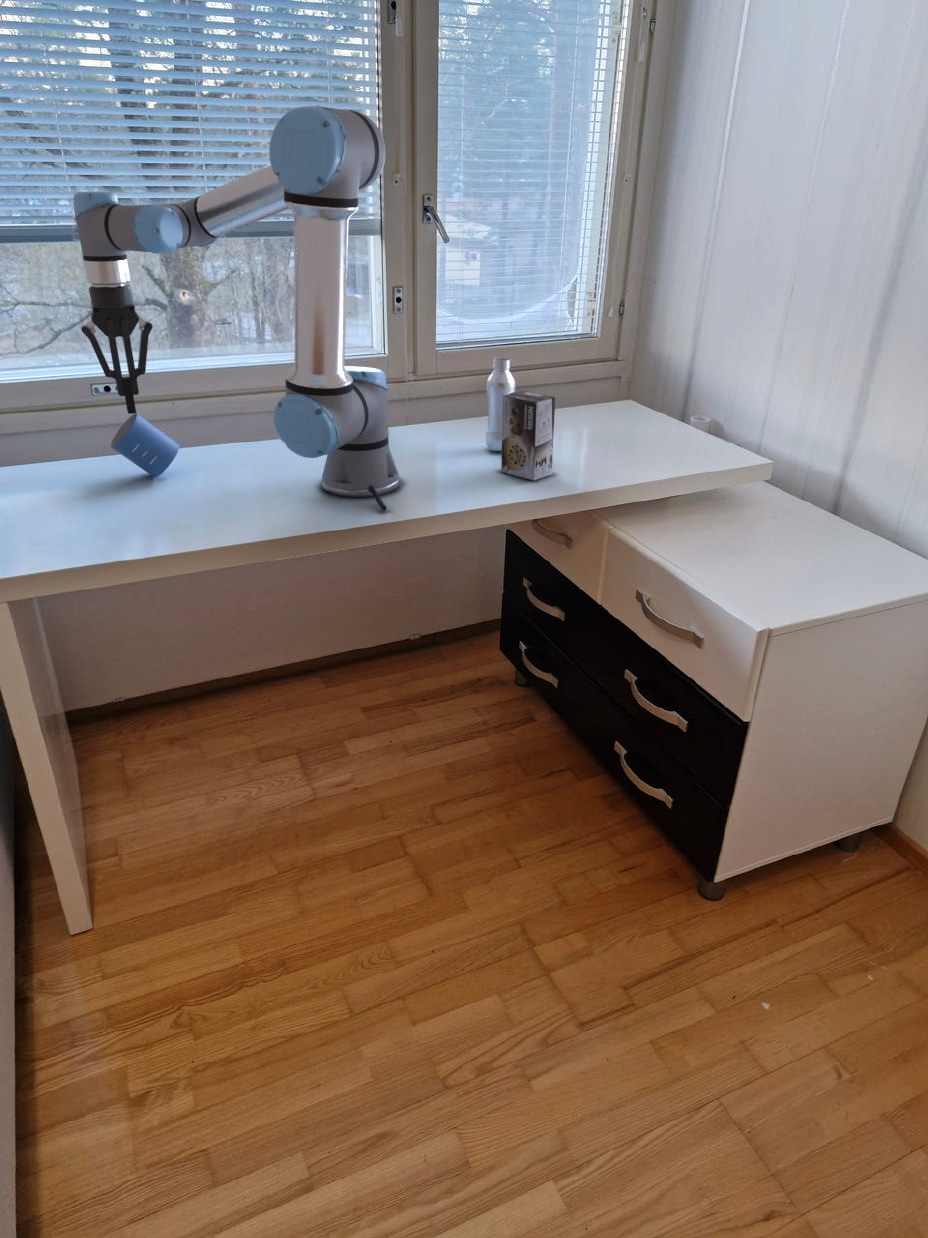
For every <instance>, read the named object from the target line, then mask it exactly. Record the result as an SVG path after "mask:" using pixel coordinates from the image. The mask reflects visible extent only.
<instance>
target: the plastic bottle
mask: <svg viewBox="0 0 928 1238" xmlns="http://www.w3.org/2000/svg"><path fill="white" fill-rule="evenodd" d="M492 360H493V361H492V369H493V370H492V372H491V374H490V375H489V376H488V378H487V380H486V385H485V386H486V395H487V405H488V406H487V407H488V417H487V429H486V432H485V445H486V447H487V448H488V450H490V451H495V452H502V396H504V395H507V394H510V393H513V392H516V386H517V385H516V379H515V378H514V376H513V374H512V373H511V371H510V369H511V358H510V357H494V358H493V359H492Z"/></svg>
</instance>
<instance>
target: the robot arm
mask: <svg viewBox="0 0 928 1238" xmlns="http://www.w3.org/2000/svg"><path fill="white" fill-rule="evenodd" d="M268 148H269V149H268V153H269V154H268V155H269V156H268V157H269V163H270V164H268V165H265V166H263V167H261V168H258V169H256V170H254V171H252V172H249V173H247V174H245V175H242V176H240V177H238V178H236V179H234V180H232V181H229V182H227V183H224V184H223V185H221V186H218V187H216V188H214V189H211V190H210V191H207V192H205V193H202V194H200V195H199V196H196V197H193V198H192V199H189V200H187V201H184V202H177V203H159V204H158V203H155V204H120V203H119V200H118V196H117V194H116V193H115V192H114V191H78V192H75V194H73V197H72V199H73V200H72V202H73V209H74V210H73V211H74V221H75V223H76V228H77V232H78V238H79V242H80V248H81V253H82V260H83V266H84V271H85V277H86V282H87V283H88V284H89V285H90V286H89V288H88V293H89V297H90V298H89V299H90V304H91V309H92V312H91V315H90V320H88V322H86V323H85V324H82V325H81V326H80V328H81V332H82V333H83V334H84V335H85V336H86V338H87V339H88V341H89V342H90V344H91V346H92V348H93V351H94V353H95V355H96V358H97V360H98V362H99V364H100V367H101V369H102V372H103V374H104V376H105V377H106V378H112V379H114V380H115V384H116V389H117V395H118V396H119V397H124V399H125V404H126V405H125V406H126V411H127V414H128V415H133V414H135V413H137V408H136V403H135V397H134V396H139V393H140V391H139V390H140V389H139V385H138V377H140V376H143V375H145V374H146V371H147V370H146V369H147V361H148V360H147V359H148V347H149V335H150V333H151V332H152V330H153V327H154V326H153V324H152V322H151V320H145V319H144V318H142V317H140V314H139V313H138V311H137V309H136V305H135V299H134V293H133V287H132V286H131V285H130V284H129V283H130V282H131V275H130V273H131V272H130V268H129V262H128V255H127V252H141V253H151V254H165V253H173V252H175V251H176V250H177V249H184V248H193V247H199V248H203V247H207V246H210V245H213V244H216V243H218V242H219V240H220V239H221V237H223V236H225V235H228V234H230V233H232V232H235V231H238V230H240V229H243V228H246V227H247V226H250V225H253V224H255V223H258V222H261V221H263V220H266V219H268V218H270V217H272V216H275V215H278V214H280V213H282V212H285V211H288V210H290V212H291V213H292V215H293V291H294V292H293V300H294V303H293V306H294V307H293V308H294V309H293V312H294V314H293V315H294V317H293V318H294V320H293V322H294V323H293V324H294V327H293V328H294V329H293V331H294V336H293V337H294V338H293V339H294V365H293V367H292V368H291V369H290V370H289V371H288V372H286V374H285V395H283V396H281V399H280V400H279V401H278V402H277V403H276V405H275V407H274V410H273V425H274V429H275V431H276V434H277V436H278V437H279V439H280V441H281V442H283V443H284V444H285V446H286V448H287V449H288V450H290V451H291V452H292V453H294V454H296V455H297V456H299V457H302V458H305V459H306V458H307V459H317V458H320V457H322V456H326V459H325V462H324V467H323V471H322V475H321V484H322V485H321V486H322V489H323V490H325V491H326V492H327V493H330V494H333V495H336V496H341V497H347V498H365V497H366V498H368V497H373V498H374V500H375V501H376V503H377V505H378V507H379V508H380V510H382V511H384V512H385V511H387V509H388V507H387V505H386V504H385V503H384V501H383V500H382V498H381V495H385V494H387V493H391V492H393V491H394V490H396V489H397V488H398V487H399V485H400V475H399V471H398V468H397V465H396V462H395V460H394V457H393V454H392V452H391V449H390V445H389V444H390V443H389V413H388V412H389V411H388V410H389V409H388V391H389V389H388V386H387V376H386V374H385V372H384V371H383V370H381V369H379V368H375V367H369V366H368V367H367V366H358V365H357V366H356V365H355V366H353V365H346V326H347V323H346V322H347V321H346V320H347V288H348V287H347V285H348V283H347V282H348V247H349V244H348V243H349V220H350V218H351V216H352V215H354V214H355V213H356V212H357V211H358V210H359V196H360V195H359V193H360V192H359V191H362V190H364V189H367V188H368V187H371V185H373V184H374V183H375V182H376V181H377V180H378V178H379V177H380V176H381V174H382V172H383V170H384V166H385V163H386V156H387V155H386V154H387V153H386V152H387V151H386V150H387V149H386V144H385V139H384V137H383V134H382V131H381V130H380V129H379V127H378V125H377V124H376V123H375V122H374V121H373V120H372V119H371V118H370V117H369V116H368V115H366V114H364V113H363V112H360V111H358V110H354V109H343V108H342V109H341V108H334V107H328V106H322V105H319V104H317V105H308V106H307V105H306V106H298V107H295V108H292V109H291V110H290V109H289V111H287V112H286V113H284V114H283V116H281V118H280V119H279V120H278V121H277V123H276V124H275V126H274V127H273V131H272V133H271V135H270V141H269V147H268ZM137 325H138V329H139V331H140V336H139V349H138V350H139V351H138V361H137V367H136V366H135V360H134V353H133V347H132V343H131V342H132V341H131V335H132V334H133V332H134V330H135V328H136V326H137ZM95 326H96V327H97V329H98V330H99V331H100V332H102V334H104V336H106V337H107V339H108V345H109V351H110V356H111V361H112V362H111V363H112V368H113V369H110V366H109V364H108V362H107V360H106V356H105V354H104V353H103V349H102V348H101V345H100V343H99V341H98V338H97V337H96V335H95V334H96V332H97V331H96V328H95ZM118 337H119V338H122V343H123V348H124V355H125V360H126V367H127V371H128V376H123V375H122V368H121V362H120V356H119V350H118V344H117V338H118Z"/></svg>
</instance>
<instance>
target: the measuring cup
mask: <svg viewBox="0 0 928 1238" xmlns="http://www.w3.org/2000/svg"><path fill="white" fill-rule="evenodd" d="M110 448H111V449H112V450H114V451H116V452H117V453H118V454H119V455H121V456H123V457H124V458H125V459H127V460H128V461H130V462H132V463H133V464H134V465H136V466H137V467H138V468H140V469H141V470H143V471H144V472H146V473H147V474H149V475H150V476H152V478H158V477H160V476H161V475H162V474H163V473H165V471H166V470H167V469H168V468H169V467H170V465H171V464H172V463H173V461H174V460H175V458H176V457H177V454H178V452H179V450H180V444H179V443H178V442H176V441H175V440H173V439H172V438H171V437H170V436H168V435H166V434H165V433H164V432H162V431H161V430H160V429H158V428H157V427H156V426H155V425H154V424H152V423H150V422H149V421H148V420H146V419H145V418H144V417H142V416H141V415H139V414H138V413H137V412H136V413H132V414H131V415H130V416H129V417H128V418H127V419H126V420H125V421H124V422H123V424H122V425H121V426H120V427H119V429H118V430H117V432H116V433H115V435H114V436H113V438H112V441H111V443H110Z"/></svg>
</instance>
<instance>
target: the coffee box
mask: <svg viewBox="0 0 928 1238" xmlns="http://www.w3.org/2000/svg"><path fill="white" fill-rule="evenodd" d="M555 412H556V396H554V395H548V394H544V393H538V392H532V391H528V390H522V389H521V390H517V391H516V390H515V392H513V393H510V394H507V395H504V396H502V451H501V466H500V467H501V468H500V472H501V473H504V474H507V475H511V476H515V477H519V478H522V479H526V480H530V481H537V480H539V479H542V478H545V477H548V476H551V475H552V474H553V454H554V452H553V451H554V436H555V435H554V433H555V432H554V431H555Z"/></svg>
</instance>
